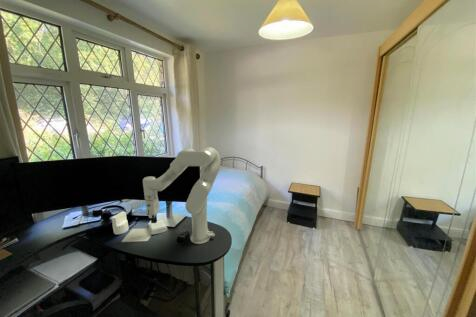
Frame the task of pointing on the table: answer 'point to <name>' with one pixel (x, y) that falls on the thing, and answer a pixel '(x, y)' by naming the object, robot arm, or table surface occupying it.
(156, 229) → the photo printer
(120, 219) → the base with upright slab
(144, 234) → the felt mat
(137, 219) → the table surface
